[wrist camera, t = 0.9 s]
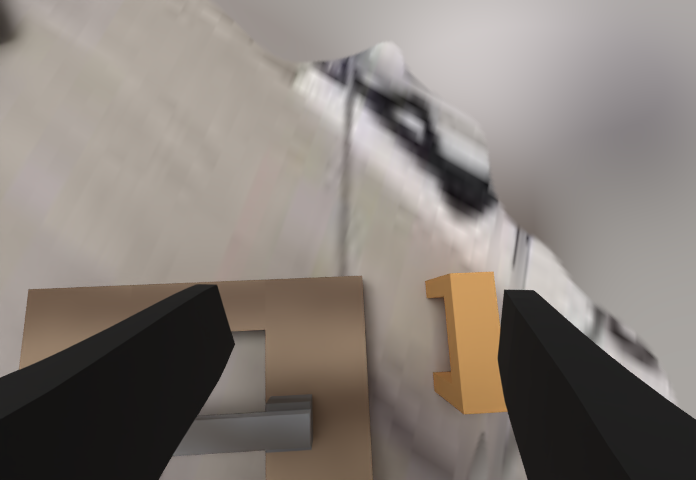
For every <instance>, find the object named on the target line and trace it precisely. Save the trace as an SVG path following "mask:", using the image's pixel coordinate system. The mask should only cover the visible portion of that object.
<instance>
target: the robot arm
mask: <svg viewBox="0 0 696 480" xmlns="http://www.w3.org/2000/svg"><path fill="white" fill-rule="evenodd" d="M234 345H235V343H234V340H233V336H232V333H231V330H230V326H229V323H228V319H227V316H226V313H225V309H224V306H223V303H222V299H221V296H220V293H219V289H218V286H217V284H196V285H194V286H191V287H188V288H186V289H184V290H182V291H180V292H177V293H175V294H173V295H171V296H169V297H167V298H165V299H163V300H161V301H159V302H157V303H155V304H154V305H152V306H150V307H148V308H146V309H144V310H142V311H140V312H138V313H136V314H134V315H132V316H130V317H129V318H127V319H125V320H123V321H121V322H119V323H117V324H115V325H113V326H111V327H109V328H107V329H105V330H103V331H101V332H99V333H97V334H95V335H93V336H91V337H89V338H87V339H85V340H83V341H81V342H79V343H77V344H75V345H73V346H71V347H69V348H67V349H65V350H63V351H60V352H58V353H56V354H54V355H52V356H50V357H47V358H45V359H43V360H41V361H38V362H36V363H34V364H32V365H29V366H27V367H25V368H22V369H20V370H17V371H15V372H13V373H10V374H8V375H6V376H3V377H1V378H0V480H159V478H160V476H161V474H162V473H163V471H164V469H165V467H166V466H167V464H168V462H169V460H170V459H171V457H172V456H173V454H174V452H175V451H176V449H177V448H178V446H179V444H180V443H181V441H182V440H183V438H184V436H185V435H186V433H187V431H188V430H189V428H190V427H191V425H192V423H193V422H194V420H195V419H196V417H197V415H198V414H199V412H200V411H201V409H202V407H203V406H204V404H205V402H206V401H207V399H208V397H209V396H210V394H211V392H212V391H213V389H214V388H215V386H216V384H217V382H218V381H219V379H220V377H221V375H222V373H223V371H224V368H225V366H226V364H227V362H228V360H229V357H230V355H231V352H232V350H233V348H234ZM497 359H498V366H499V372H500V378H501V384H502V389H503V395H504V401H505V404H506V408H507V411H508V415H509V418H510V422H511V425H512V428H513V432H514V435H515V439H516V442H517V445H518V449H519V452H520V455H521V459H522V462H523V465H524V469H525V472H526V476H527V479H528V480H696V419H694V418H692V417H691V416H690V415H688V414H687V413H685V412H684V411H683V410H681V409H680V408H678V407H677V406H676V405H674V404H673V403H671V402H670V401H669V400H667V399H666V398H664V397H663V396H662V395H660V394H659V393H658V392H656V391H655V390H654V389H653V388H651V387H650V386H649V385H647V384H646V383H645V382H643V381H642V380H641V379H639V378H638V377H637V376H635V375H634V374H633V373H631V372H630V371H629V370H627V369H626V368H625V367H624V366H622V365H621V364H620V363H618V362H617V361H616V360H615V359H613V358H612V357H611V356H610V355H608V354H607V353H606V352H605V351H604V350H602V349H601V348H600V347H599V346H598V345H596V344H595V343H594V342H593V341H592V340H590V339H589V338H588V337H587V336H586V335H584V334H583V333H582V332H581V331H580V330H579V329H577V328H576V327H575V326H574V325H573V324H572V323H571V322H569V321H568V320H567V319H566V318H565V317H564V316H563V315H561V314H560V313H559V312H558V311H557V310H556V309H555V308H554V307H552V306H551V305H550V304H549V303H548V302H547V301H546V300H544V299H543V298H542V297H541V296H540V295H539V294H538V293H536V292H535V291H534V290H504V298H503V308H502V318H501V328H500V338H499V348H498V358H497Z"/></svg>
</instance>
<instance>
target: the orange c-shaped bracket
mask: <svg viewBox="0 0 696 480" xmlns="http://www.w3.org/2000/svg"><path fill="white" fill-rule="evenodd" d="M425 283H426V295H427V298H442V297H444V302H445V313H446V323H447V334H448V345H449V355H450V366H451V372H433V378H434V389H435V392H436V393H438V394H439V395H440V396H441V397H443V398H444V399H445V400H446V401H448V402H449V403H450V404H451V405H453V406H454V407H455V408H456V409H458V410H459V411H460V412H461V413H463V414H478V413H494V412H508V411H507V408H506V404H505V401H504V395H503V389H502V384H501V378H500V372H499V366H498V359H497V358H498V348H499V338H500V322H499V314H498V306H497V297H496V289H495V281H494V272H475V273H451V274H447V275H444V276H440V277H437V278H434V279H431V280H427V281H425Z"/></svg>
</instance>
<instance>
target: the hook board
mask: <svg viewBox="0 0 696 480" xmlns="http://www.w3.org/2000/svg"><path fill="white" fill-rule="evenodd" d="M196 284H217V286H218V289H219V293H220V296H221V299H222V303H223V306H224V309H225V313H226V316H227V319H228V323H229V326H230V330H231V331H249V330H265V378H266V404H265V412H257V413H240V414H223V415H207V416H197V417H196V419H195V420H194V422H193V423H192V425H191V427H190V428H189V430H188V431H187V433H186V435H185V436H184V438H183V440H182V441H181V443H180V444H179V446H178V448H177V449H176V451H175V452H174V454H173V456H184V455H199V454H215V453H230V452H246V451H261V450H266V480H373V474H372V454H371V435H370V416H369V397H368V378H367V359H366V340H365V320H364V301H363V282H362V276H344V277H320V278H295V279H271V280H247V281H222V282H198V283H174V284H149V285H125V286H101V287H76V288H52V289H29V290H28V298H27V307H26V315H25V324H24V332H23V340H22V349H21V357H20V365H19V370H20V369H22V368H25V367H27V366H29V365H32V364H34V363H36V362H38V361H41V360H43V359H45V358H47V357H50V356H52V355H54V354H56V353H58V352H60V351H63V350H65V349H67V348H69V347H71V346H73V345H75V344H77V343H79V342H81V341H83V340H85V339H87V338H89V337H91V336H93V335H95V334H97V333H99V332H101V331H103V330H105V329H107V328H109V327H111V326H113V325H115V324H117V323H119V322H121V321H123V320H125V319H127V318H129V317H130V316H132V315H134V314H136V313H138V312H140V311H142V310H144V309H146V308H148V307H150V306H152V305H154V304H155V303H157V302H159V301H161V300H163V299H165V298H167V297H169V296H171V295H173V294H175V293H177V292H180V291H182V290H184V289H186V288H188V287H191V286H194V285H196Z"/></svg>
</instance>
